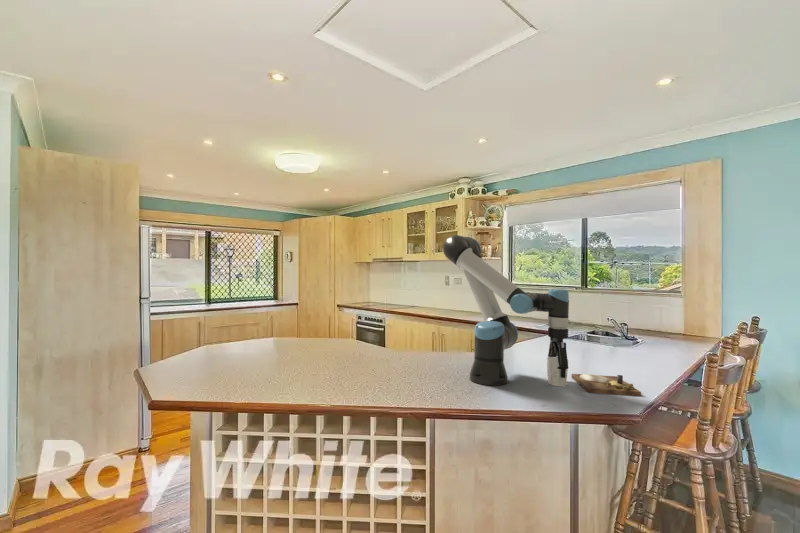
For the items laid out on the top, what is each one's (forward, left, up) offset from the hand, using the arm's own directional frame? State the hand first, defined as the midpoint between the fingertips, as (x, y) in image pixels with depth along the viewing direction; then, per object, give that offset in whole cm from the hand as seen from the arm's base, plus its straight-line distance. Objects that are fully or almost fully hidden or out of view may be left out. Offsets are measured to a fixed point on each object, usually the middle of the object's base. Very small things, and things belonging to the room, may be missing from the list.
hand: (557, 380), depth 151 cm
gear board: (+18, +2, -1) cm, 18 cm away
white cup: (0, 0, -2) cm, 2 cm away
